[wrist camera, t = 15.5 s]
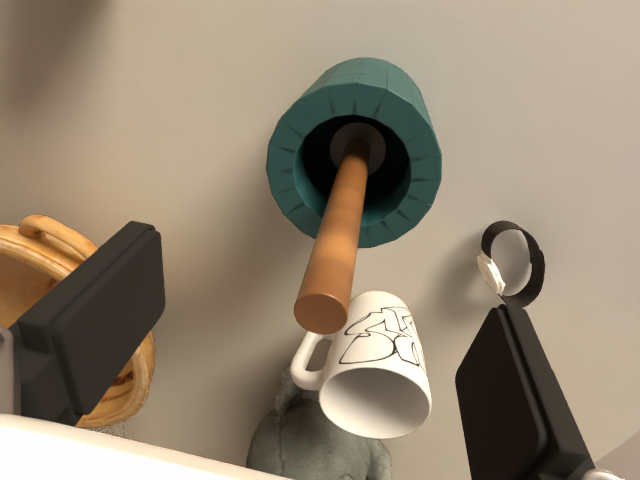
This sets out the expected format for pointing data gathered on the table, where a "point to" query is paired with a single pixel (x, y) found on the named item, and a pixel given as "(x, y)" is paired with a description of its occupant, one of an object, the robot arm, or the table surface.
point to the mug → (370, 370)
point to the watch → (494, 276)
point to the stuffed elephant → (312, 443)
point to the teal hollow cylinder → (381, 187)
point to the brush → (340, 225)
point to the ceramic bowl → (42, 276)
